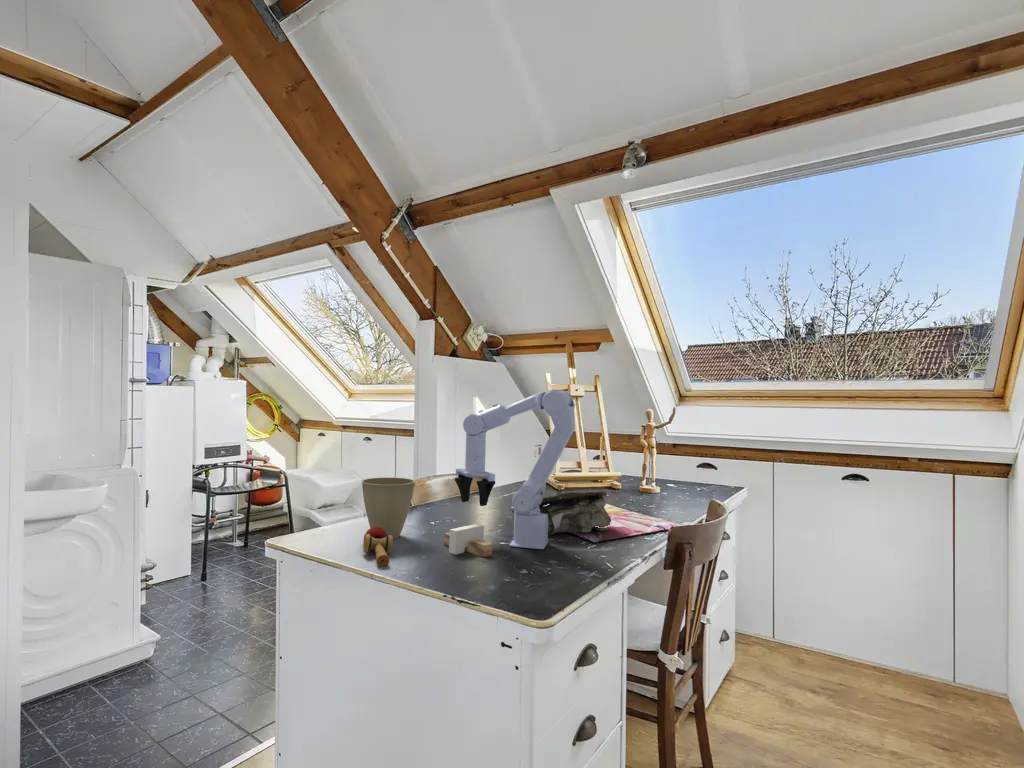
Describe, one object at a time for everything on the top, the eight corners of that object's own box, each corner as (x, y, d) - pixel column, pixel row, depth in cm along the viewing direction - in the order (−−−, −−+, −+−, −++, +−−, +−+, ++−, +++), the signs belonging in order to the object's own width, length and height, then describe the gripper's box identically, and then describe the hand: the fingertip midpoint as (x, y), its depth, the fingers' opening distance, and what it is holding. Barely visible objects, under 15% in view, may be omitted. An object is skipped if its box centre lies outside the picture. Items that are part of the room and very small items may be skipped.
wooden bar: (491, 555, 142) (492, 543, 142) (484, 557, 140) (485, 545, 140) (451, 542, 153) (451, 532, 153) (444, 544, 151) (444, 533, 151)
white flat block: (483, 547, 149) (484, 525, 149) (455, 554, 142) (455, 531, 142) (477, 545, 151) (477, 523, 151) (448, 552, 144) (449, 529, 144)
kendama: (402, 570, 133) (390, 541, 149) (398, 546, 132) (387, 519, 148) (369, 579, 130) (361, 548, 147) (365, 554, 129) (357, 526, 146)
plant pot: (407, 544, 151) (409, 485, 151) (353, 542, 151) (355, 484, 151) (417, 530, 166) (419, 477, 166) (368, 529, 166) (370, 476, 166)
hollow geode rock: (532, 552, 162) (550, 523, 153) (518, 516, 170) (534, 486, 161) (610, 540, 175) (631, 512, 166) (593, 507, 183) (612, 479, 174)
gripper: (448, 454, 161) (447, 501, 161) (482, 459, 151) (481, 509, 151) (466, 453, 166) (465, 498, 166) (500, 457, 156) (499, 505, 156)
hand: (474, 503), depth 159 cm, fingers open, 7 cm apart
